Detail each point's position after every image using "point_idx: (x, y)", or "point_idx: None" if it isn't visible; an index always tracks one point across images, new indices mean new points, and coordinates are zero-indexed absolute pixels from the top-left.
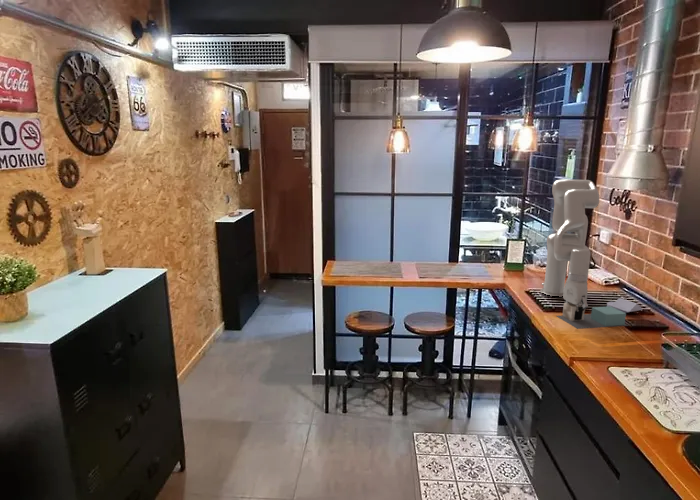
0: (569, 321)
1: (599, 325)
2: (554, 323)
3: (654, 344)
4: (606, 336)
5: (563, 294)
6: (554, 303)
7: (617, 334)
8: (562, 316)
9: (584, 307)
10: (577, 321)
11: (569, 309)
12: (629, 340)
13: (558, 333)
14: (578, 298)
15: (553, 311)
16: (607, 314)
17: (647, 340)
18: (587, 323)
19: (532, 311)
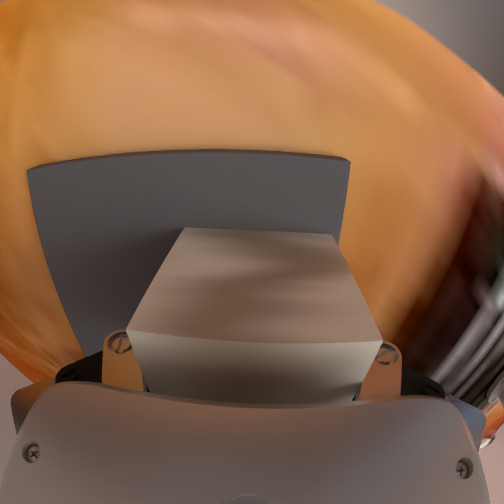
0: (165, 199)
1: (101, 347)
2: (202, 52)
3: (13, 364)
4: (10, 282)
5: (469, 452)
6: (497, 330)
7: (46, 342)
8: (313, 220)
9: (28, 386)
10: None
11: (208, 295)
12: (9, 331)
13: (32, 20)
14: (6, 475)
15: (454, 254)
16: None
17: (32, 374)
18: (124, 311)
19: (498, 97)
